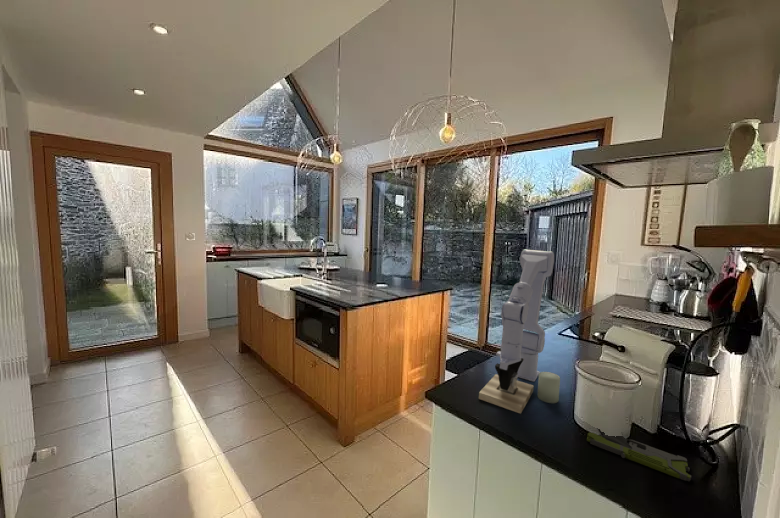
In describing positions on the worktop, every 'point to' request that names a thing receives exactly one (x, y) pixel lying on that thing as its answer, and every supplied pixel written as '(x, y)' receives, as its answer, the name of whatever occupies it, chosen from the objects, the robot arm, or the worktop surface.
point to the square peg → (512, 385)
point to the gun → (643, 454)
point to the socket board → (506, 395)
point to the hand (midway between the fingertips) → (507, 384)
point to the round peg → (548, 387)
